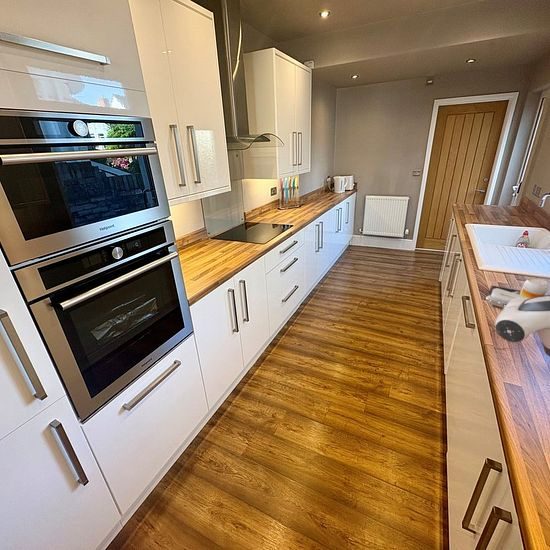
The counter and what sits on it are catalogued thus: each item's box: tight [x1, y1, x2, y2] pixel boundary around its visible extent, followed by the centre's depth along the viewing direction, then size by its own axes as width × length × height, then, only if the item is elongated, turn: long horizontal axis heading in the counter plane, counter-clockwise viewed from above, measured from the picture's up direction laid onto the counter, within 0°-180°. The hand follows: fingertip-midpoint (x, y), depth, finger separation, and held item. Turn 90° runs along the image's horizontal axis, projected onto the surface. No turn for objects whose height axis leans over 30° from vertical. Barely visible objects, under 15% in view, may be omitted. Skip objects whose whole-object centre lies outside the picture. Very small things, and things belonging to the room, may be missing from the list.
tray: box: [489, 285, 521, 309], centre depth 124 cm, size 11×15×3 cm
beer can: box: [520, 277, 549, 298], centre depth 101 cm, size 6×6×15 cm
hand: (531, 297), depth 101 cm, fingers closed on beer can, 6 cm apart
